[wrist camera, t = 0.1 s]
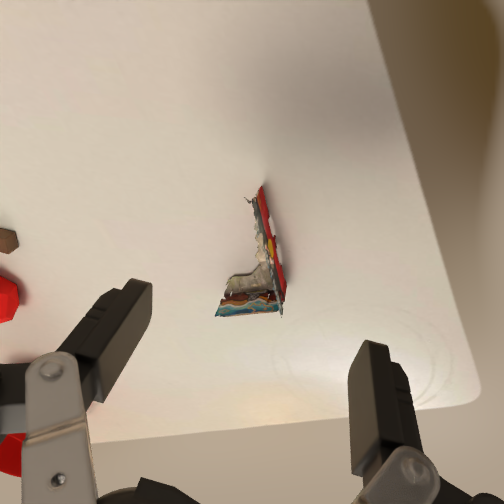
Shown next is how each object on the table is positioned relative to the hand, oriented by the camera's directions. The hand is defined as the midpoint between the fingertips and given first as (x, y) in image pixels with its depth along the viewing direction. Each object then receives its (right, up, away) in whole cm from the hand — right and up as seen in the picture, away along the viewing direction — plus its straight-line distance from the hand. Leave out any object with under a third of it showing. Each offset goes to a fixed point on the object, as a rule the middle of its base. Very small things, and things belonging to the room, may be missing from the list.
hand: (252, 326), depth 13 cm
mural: (-1, +4, +20) cm, 21 cm away
